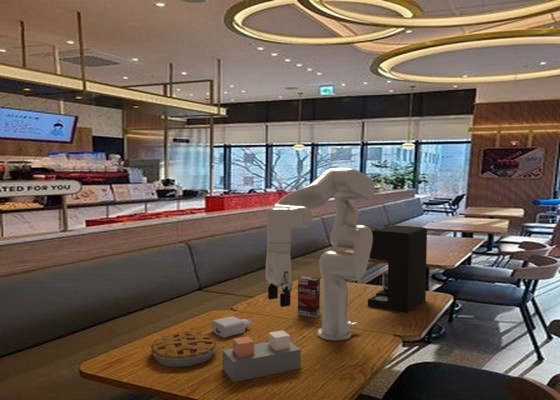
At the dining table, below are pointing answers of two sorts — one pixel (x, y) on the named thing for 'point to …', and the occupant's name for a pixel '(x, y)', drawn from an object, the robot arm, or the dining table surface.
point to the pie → (183, 349)
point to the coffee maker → (400, 267)
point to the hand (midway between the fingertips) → (278, 302)
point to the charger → (229, 326)
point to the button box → (261, 362)
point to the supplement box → (308, 296)
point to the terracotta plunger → (243, 347)
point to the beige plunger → (279, 340)
